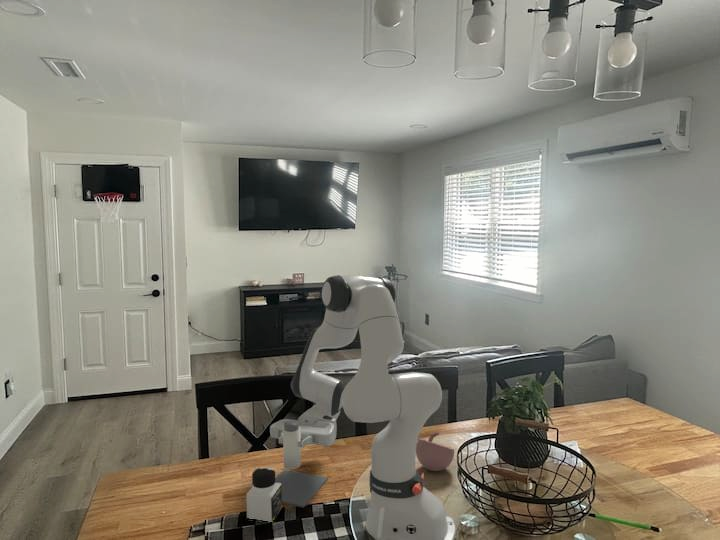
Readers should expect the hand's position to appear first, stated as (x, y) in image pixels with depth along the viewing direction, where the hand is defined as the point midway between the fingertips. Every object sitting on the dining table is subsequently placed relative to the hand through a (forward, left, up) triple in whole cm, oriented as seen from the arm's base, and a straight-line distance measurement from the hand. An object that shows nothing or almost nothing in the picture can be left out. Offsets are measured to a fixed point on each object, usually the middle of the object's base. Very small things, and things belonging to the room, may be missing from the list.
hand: (290, 443), depth 138 cm
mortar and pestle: (-37, -26, -14) cm, 47 cm away
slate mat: (0, -1, -14) cm, 14 cm away
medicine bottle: (+1, +13, -14) cm, 19 cm away
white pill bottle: (0, -1, -7) cm, 7 cm away
